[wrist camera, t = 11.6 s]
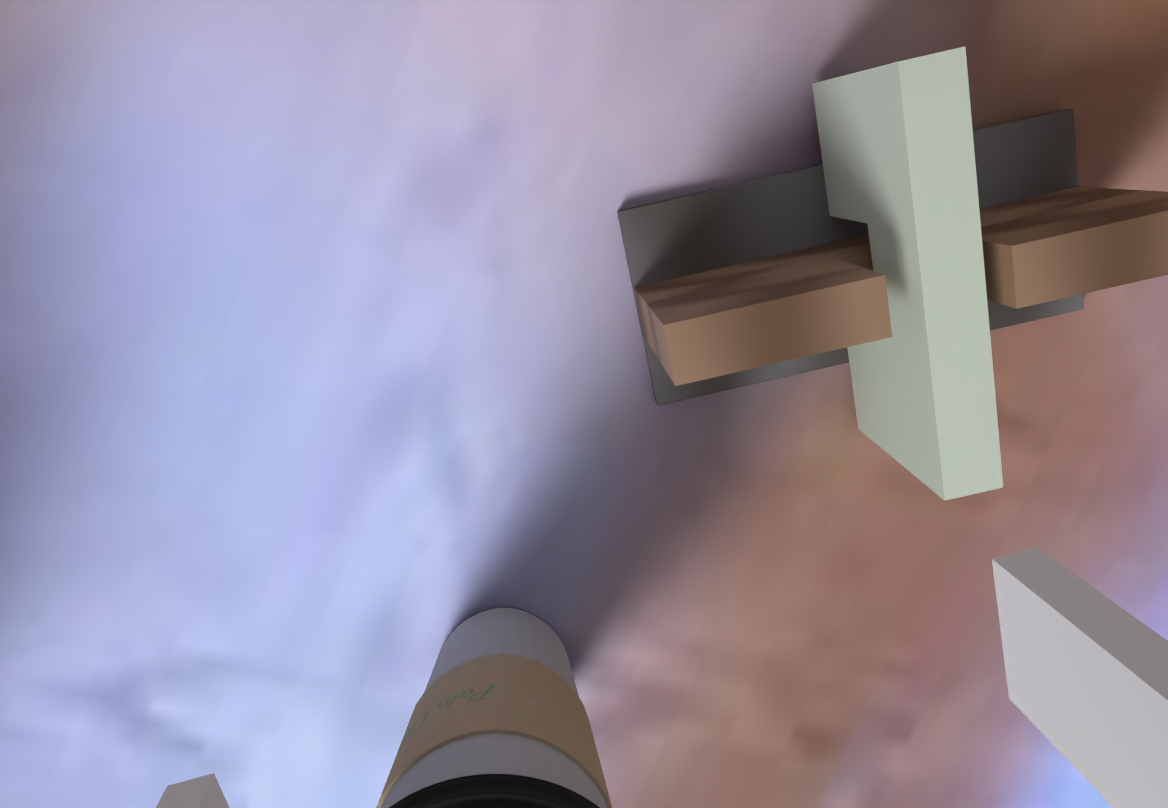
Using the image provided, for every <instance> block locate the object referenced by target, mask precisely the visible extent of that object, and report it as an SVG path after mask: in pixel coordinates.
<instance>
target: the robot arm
mask: <svg viewBox="0 0 1168 808" xmlns="http://www.w3.org/2000/svg"><path fill="white" fill-rule="evenodd" d="M992 564H993V572H994V580H995V588H996V596H997V604H998V612H999V621H1000V629H1001V637H1002V645H1003V653H1004V661H1005V669H1006V677H1007V685H1008V694H1009V699H1010V700H1011V701H1012V702H1013V703H1014V704H1015V705H1016V706H1017V707H1018V708H1019V709H1020V710H1021V711H1022V712H1023V713H1024V714H1025V715H1026V716H1027V718H1028V719H1029V720H1030V721H1031V722H1032V723H1033V724H1034V725H1035V726H1036V727H1037V728H1038V729H1039V730H1040V731H1041V732H1042V733H1043V734H1044V735H1045V736H1046V738H1047V739H1048V740H1049V741H1050V742H1051V743H1052V744H1053V745H1054V746H1055V747H1056V748H1057V749H1058V750H1059V751H1060V752H1061V753H1062V754H1063V755H1064V756H1065V757H1066V759H1067V760H1068V761H1069V762H1070V763H1071V764H1072V765H1073V766H1074V767H1075V768H1076V769H1077V770H1078V771H1079V772H1080V773H1081V774H1082V775H1083V776H1084V777H1085V778H1086V780H1087V781H1088V782H1089V783H1090V784H1091V785H1092V786H1093V787H1094V788H1095V789H1096V790H1097V791H1098V792H1099V793H1100V794H1101V795H1102V796H1103V797H1104V798H1105V800H1106V801H1107V802H1108V803H1109V804H1110V805H1111V806H1112V807H1113V808H1168V641H1167V640H1166V639H1164V638H1163V637H1161V636H1160V635H1159V634H1157V633H1156V632H1155V631H1153V630H1152V629H1150V628H1149V627H1148V626H1146V625H1145V624H1143V623H1142V622H1141V621H1139V620H1138V619H1136V618H1135V617H1134V616H1132V615H1131V614H1129V613H1128V612H1127V611H1125V610H1124V609H1122V608H1121V607H1120V606H1118V605H1117V604H1115V603H1114V602H1113V601H1111V600H1110V599H1108V598H1107V597H1106V596H1104V595H1103V594H1102V593H1100V592H1099V591H1097V590H1096V589H1095V588H1093V587H1092V586H1090V585H1089V584H1088V583H1086V582H1085V581H1083V580H1082V579H1081V578H1079V577H1078V576H1076V575H1075V574H1074V573H1072V572H1071V571H1069V570H1068V569H1067V568H1065V567H1064V566H1062V565H1061V564H1060V563H1058V562H1057V561H1056V560H1054V559H1053V558H1051V557H1050V556H1049V555H1047V554H1046V553H1044V552H1043V551H1042V550H1040V549H1039V548H1037V547H1033V548H1030V549H1026V550H1022V551H1019V552H1015V553H1011V554H1008V555H1004V556H1001V557H997V558H993V559H992ZM156 808H229V806H228V804H227V801H226V799H225V797H224V795H223V792H222V790H221V788H220V786H219V784H218V781H217V779H216V777H215V775H214V773H213V774H209V775H206V776H202V777H199V778H195V779H191V780H188V781H184V782H180V783H177V784H173V785H169V786H167V788H166V790H165V792H164V793H163V795H162V797H161V799H160V801H159V803H158V805H157V807H156Z"/></svg>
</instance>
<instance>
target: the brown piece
mask: <svg viewBox="0 0 1168 808" xmlns="http://www.w3.org/2000/svg"><path fill="white" fill-rule="evenodd" d="M973 141H974V152H975V164H976V176H977V187H978V199H979V211H980V222H981V234H982V246H983V257H984V269H985V281H986V292H987V304H988V316H989V327H990V330H993V329H998V328H1002V327H1006V326H1011V325H1015V324H1020V323H1024V322H1028V321H1033V320H1037V319H1042V318H1046V317H1051V316H1055V315H1059V314H1064V313H1068V312H1073V311H1077V310H1081V309H1084V299H1083V294H1084V293H1089V292H1093V291H1097V290H1102V289H1106V288H1111V287H1115V286H1119V285H1124V284H1128V283H1133V282H1137V281H1141V280H1146V279H1150V278H1155V277H1159V276H1164V275H1168V192H1160V191H1142V190H1124V189H1107V188H1089V187H1077V171H1076V153H1075V135H1074V117H1073V109H1065V110H1060V111H1055V112H1051V113H1047V114H1042V115H1038V116H1033V117H1029V118H1025V119H1020V120H1016V121H1011V122H1007V123H1003V124H998V125H994V126H989V127H985V128H981V129H976V130H973ZM617 213H618V217H619V222H620V227H621V232H622V237H623V242H624V247H625V252H626V257H627V262H628V267H629V272H630V277H631V282H632V286H633V291H634V296H635V301H636V306H637V311H638V316H639V321H640V326H641V331H642V336H643V341H644V346H645V351H646V355H647V360H648V365H649V370H650V375H651V380H652V385H653V390H654V395H655V400H656V403H657V405H662V404H667V403H671V402H675V401H680V400H684V399H689V398H693V397H698V396H702V395H706V394H711V393H715V392H720V391H724V390H728V389H733V388H737V387H742V386H746V385H750V384H755V383H759V382H764V381H768V380H773V379H777V378H781V377H786V376H790V375H795V374H799V373H803V372H808V371H812V370H817V369H821V368H825V367H830V366H834V365H839V364H843V363H848V362H849V356H848V349H847V347H850V346H855V345H859V344H864V343H868V342H872V341H877V340H881V339H886V338H890V337H892V330H891V321H890V313H889V304H888V296H887V288H886V279H885V275H884V274H881V273H878V272H875V271H873V265H872V257H871V249H870V240H869V232H868V224H867V223H862V222H857V221H852V220H847V219H842V218H837V217H832V216H830V215H829V207H828V200H827V192H826V185H825V177H824V170H823V164H822V165H818V166H814V167H809V168H805V169H800V170H796V171H792V172H787V173H783V174H778V175H774V176H770V177H765V178H761V179H756V180H752V181H748V182H743V183H739V184H734V185H730V186H726V187H721V188H717V189H712V190H708V191H704V192H699V193H695V194H690V195H686V196H682V197H677V198H673V199H668V200H664V201H660V202H655V203H651V204H647V205H642V206H638V207H633V208H629V209H625V210H620V211H617Z"/></svg>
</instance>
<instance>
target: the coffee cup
mask: <svg viewBox="0 0 1168 808" xmlns="http://www.w3.org/2000/svg"><path fill="white" fill-rule="evenodd" d="M377 808H612V806H611V802H610V798H609V794H608V791H607V787H606V783H605V779H604V775H603V772H602V768H601V764H600V760H599V757H598V753H597V749H596V745H595V742H594V738H593V734H592V730H591V727H590V723H589V719H588V716H587V714H586V711H585V708H584V705H583V703H582V702H581V700H580V698H579V696H578V692H577V688H576V684H575V681H574V677H573V673H572V669H571V666H570V662H569V658H568V655H567V652H566V649H565V647H564V645H563V643H562V641H561V640H560V638H559V636H558V635H557V634H556V633H555V632H554V631H553V629H552V628H551V627H550V626H549V625H547V624H546V623H545V622H544V621H542V620H541V619H540V618H538V617H536V616H534V615H532V614H531V613H528V612H525V611H522V610H519V609H515V608H507V607H503V608H492V609H489V610H486V611H482V612H480V613H478V614H476V615H474V616H472V617H470V618H468V619H467V620H465V621H464V622H463V623H461V624H460V625H459V626H458V627H457V628H456V629H455V630H454V631H453V632H452V633H451V634H450V635H449V636H448V638H447V639H446V641H445V642H444V644H443V646H442V648H441V651H440V653H439V656H438V658H437V661H436V663H435V666H434V669H433V671H432V674H431V676H430V679H429V682H428V684H427V687H426V690H425V692H424V694H423V695H422V697H421V698H420V700H419V701H418V703H417V704H416V706H415V709H414V711H413V714H412V716H411V719H410V721H409V724H408V726H407V729H406V732H405V734H404V737H403V740H402V742H401V745H400V747H399V750H398V753H397V755H396V758H395V761H394V763H393V766H392V768H391V771H390V774H389V776H388V779H387V782H386V784H385V787H384V789H383V792H382V795H381V797H380V800H379V803H378V805H377Z"/></svg>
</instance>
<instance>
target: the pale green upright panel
mask: <svg viewBox="0 0 1168 808" xmlns="http://www.w3.org/2000/svg"><path fill="white" fill-rule="evenodd" d="M812 88H813V95H814V103H815V110H816V118H817V125H818V133H819V140H820V147H821V155H822V162H823V170H824V177H825V185H826V192H827V200H828V207H829V215H830V216H832V217H837V218H842V219H847V220H852V221H857V222H862V223H867V224H868V232H869V240H870V249H871V257H872V265H873V271H875V272H878V273H881V274H884V275H885V279H886V288H887V296H888V304H889V313H890V321H891V330H892V337H890V338H886V339H881V340H877V341H872V342H868V343H864V344H859V345H855V346H850V347H847V349H848V356H849V364H850V371H851V379H852V386H853V394H854V401H855V409H856V416H857V423H858V429H859V430H861V431H862V432H863V433H864V434H865V435H867V436H868V437H869V438H870V439H871V440H873V441H874V442H875V443H876V444H877V445H879V446H880V447H881V448H882V449H883V450H885V451H886V452H887V453H888V454H889V455H891V456H892V457H893V458H894V459H895V460H897V461H898V462H899V463H900V464H901V465H903V466H904V467H905V468H906V469H907V470H909V471H910V472H911V473H912V474H913V475H915V476H916V477H917V478H918V479H919V480H921V481H922V482H923V483H924V484H925V485H927V486H928V487H929V488H930V489H931V490H933V491H934V492H935V493H936V494H937V495H939V496H940V497H941V498H942V499H943V500H949V499H954V498H958V497H963V496H967V495H971V494H976V493H980V492H985V491H989V490H994V489H998V488H1003V479H1002V467H1001V456H1000V444H999V432H998V421H997V409H996V397H995V386H994V374H993V362H992V351H991V339H990V327H989V316H988V304H987V292H986V281H985V269H984V257H983V246H982V234H981V222H980V211H979V199H978V187H977V176H976V164H975V152H974V141H973V129H972V117H971V106H970V94H969V82H968V71H967V59H966V47H965V46H964V47H960V48H956V49H951V50H947V51H942V52H938V53H934V54H929V55H925V56H920V57H916V58H912V59H907V60H903V61H898V62H894V63H891V64H887V65H883V66H879V67H875V68H871V69H867V70H863V71H859V72H856V73H852V74H848V75H844V76H840V77H836V78H832V79H828V80H825V81H821V82H817V83H813V84H812Z"/></svg>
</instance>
